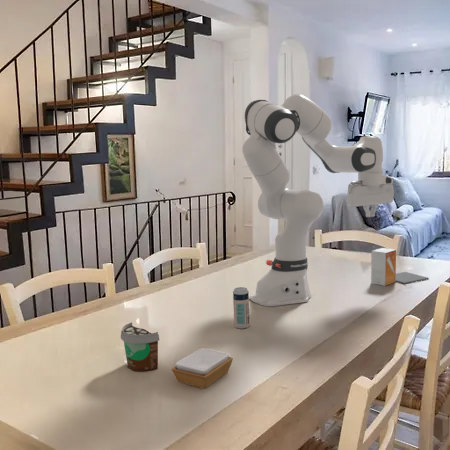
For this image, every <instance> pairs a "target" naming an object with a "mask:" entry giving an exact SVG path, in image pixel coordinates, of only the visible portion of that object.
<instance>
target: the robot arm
mask: <svg viewBox="0 0 450 450" xmlns="http://www.w3.org/2000/svg"><path fill="white" fill-rule="evenodd" d="M244 123H245V131H246V134H248V136H249V137H248V138H247V139H246V140H244V143H243V145H242V147H241V148H242V154H243V157H244V160H245V162H246V165H247V167H248V168H249V171H250V172H251V174H252V175H253V177H254V179H255V180H256V182H257V183H258V186H259V187H260V190H261V193H260V195H259V197H258V202H257V207H258V210H259V212H260V214H261V215H263V216H264V217H267V218H270V219H274V220H284V221H286V222H285V227H284V229H283V230H281V231H280V232H278V233H277V234H276V236H275V239H274V250H275V251H274V253H275V254H274V255H275V257H274V259H273V260H270V259H267V260H265V264H266V266H270V267H271V269H269V271H268V272H267V273H266V274H264V275H263V277H261V278H260V279H259V280H258V281H257V283H256V288H255V292H254V293H252V294H250V295H249V300H251V301H252V302H253V303H255V304H257V305H259V306H264V307H276V306H284V305H291V304H299V303H307V302H309V301H310V300H309V299H310V298H311V297H312V293H311V289H310V286H309V280H308V266H309V265H308V257H307V239H308V238H307V237H308V233H309V231H310V228H311V227H312V225H313V224H314V223H315V221H317V220H318V219H319V218H320V217H321V215H322V214H323V210H324V201H323V198H322V196H321V195H320V193H318V192H314V191H311V190H309V189H308V190H307V189H291V188H288V187H287V185H288V183H289V181H290V178H291V176H290V170H289V169H288V167H287V165H286V164H285V162H284V160H283V157H281V154H280V152H279V151H278V150H277V147H276V144H285V143H288V142H289V141H291V140H292V138H293V137H294V136H295V135H296V133H297V134H298V135H299V136H300V137H301V138H302V140H303V142H304V144H306V145H307V147H308V148H309V149H310V150H311V151H312V152H313V153H314V154H315V155H316V156H317V157H318V158H319V160H321V163H322V164H323V167H325V169H326V170H327V171H328V172H329V173H332V174H336V173H337V174H338V173H348V174H349V173H350V174H351V173H357V174H358V175H357V176H358V177H357V178H358V180H357V181H351V182H350V183H349V184H348V185H347V194H346V205H347V206H348V207H352V208H353V207H363V210H364V212H365V217H366V218H372V217H375V216H376V211H377V209H378V205H383V204H392V203H393V201H394V197H395V196H394V195H395V191H394V190H395V189H394V186H393V183H394V178H393V177H390V176H387V175H385V174H384V171H383V161H384V152H383V151H384V150H383V149H384V148H383V143H382V142H383V141H382V139H381V138H380V137H377V136H373V135H363V136H361V137H360V138H359V140H358V141H357V142H356V143H355V144H352V145H346V146H344V145H343V146H340V145H339V146H338V145H333V144H330V142H329V141H328V140H327V139H326V138H328V136H329V134H330V132H331V130H332V119H331V117H330V116H329V114H328V113H327V112H326V111H325V110H324V109H323V108H321V107H320V106H319V105H318V104H317V103H316V102H314V101H313V100H311V99H310V98H308V97H306V96H304V95H303V94H299V93H296V94H292V95H290V96H288V97H287V98H286V99H285V100H284V102H283V104H281V105H278V104H276V103H274V102H271V101H268V100H266V99H256V100H253V101H251V102H250V103H249V104H248V105H247V106H246V108H245V109H244Z"/></svg>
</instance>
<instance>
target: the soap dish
mask: <svg viewBox="0 0 450 450" xmlns="http://www.w3.org/2000/svg"><path fill="white" fill-rule="evenodd" d="M233 361H234V357H230V354H229V353H227V352H224V351H219V350H216V349H210V348H204V347H202V348H201V347H200V348H199V349H197V350H195V351H193V352H191V353H190V354H189V355H186V356H185V357H182V358H180V360H177V361H176V362H175V366H174V367H173V368H171V369H170V370H171V371H172V374H173V376H174V377H175V379H176V381H177V382H179V383H182V384H184V385H185V384H186V385H190V386H193V387H196V388H201V389H207V388H208V387H209V386H211V385H212V384H213V383H215V382H216V381H218V380H219V379H220V378H222V377H223V376H224V375H226V374H228V372H229V371H230V368H231V365H232V362H233Z"/></svg>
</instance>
